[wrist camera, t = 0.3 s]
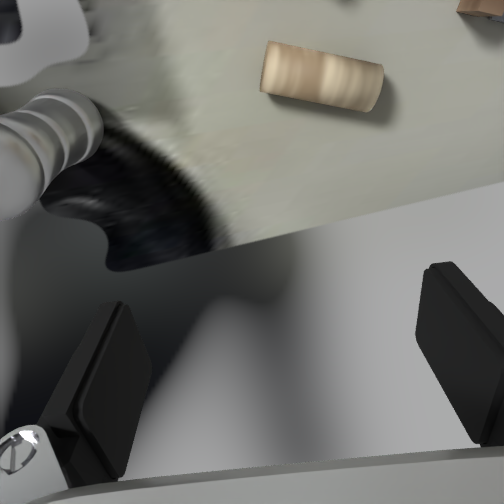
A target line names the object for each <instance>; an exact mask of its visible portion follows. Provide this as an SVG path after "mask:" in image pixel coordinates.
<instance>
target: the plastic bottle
mask: <svg viewBox="0 0 504 504" xmlns="http://www.w3.org/2000/svg"><path fill="white" fill-rule="evenodd" d="M103 134H104V126H103V120H102V117H101V115H100V113H99V111H98V109H97V108H96V106H95V105H94V104H93V102H91V101H90V100H89V99H88V98H87V97H86V96H84V95H83V94H81V93H79V92H77V91H74V90H70V89H60V88H53V89H47V90H45V91H42V92H40V93H39V94H37V95H36V96H35V97H33V98H32V99H31V100H30V101H29V102H28V103H27V104H26V105H24V106H23V107H21V108H19V109H18V110H16V111H13V112H10V113H6V114H2V115H0V221H4V220H8V219H11V218H15V217H17V216H20V215H22V214H24V213H26V212H27V211H29V210H30V209H31V207H32V206H33V205H34V204H35V203H36V202H37V201H38V200H39V199H40V197H41V196H42V194H43V193H44V191H45V190H46V188H47V187H48V185H49V184H50V183H51V181H52V180H53V179H54V178H55V177H56V176H57V175H58V174H59V173H60V172H61V171H63V170H64V169H66V168H68V167H69V166H71V165H74V164H77V163H80V162H82V161H84V160H86V159H88V158H90V157H91V156H92V155H93V154H94V153H95V152H96V151H97V149H98V147H99V145H100V143H101V141H102V138H103Z"/></svg>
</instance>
